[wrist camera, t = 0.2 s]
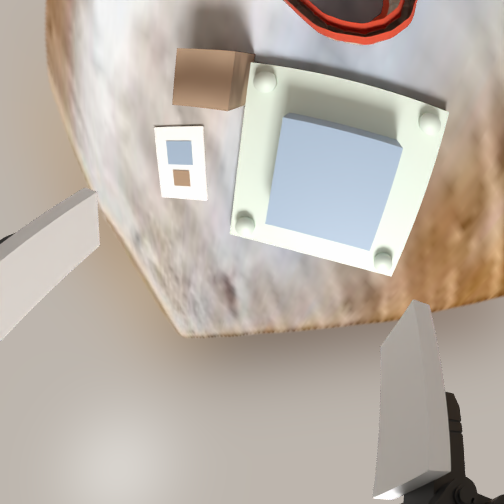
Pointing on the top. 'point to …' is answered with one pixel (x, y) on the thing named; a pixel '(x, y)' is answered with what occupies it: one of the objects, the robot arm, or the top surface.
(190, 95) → the walnut block
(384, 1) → the toy
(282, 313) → the top surface
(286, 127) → the base brick
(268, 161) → the build plate
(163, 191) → the page
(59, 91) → the top surface
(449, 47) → the top surface
